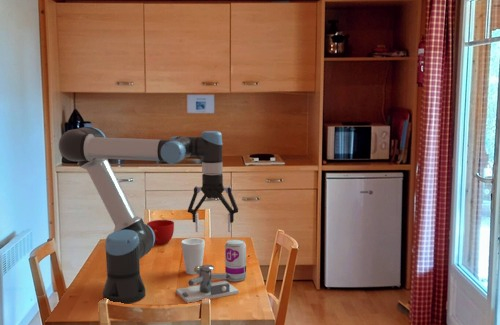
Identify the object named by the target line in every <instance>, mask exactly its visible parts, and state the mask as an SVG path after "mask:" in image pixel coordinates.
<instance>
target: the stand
mask: <svg viewBox="0 0 500 325" xmlns="http://www.w3.org/2000/svg"><path fill="white" fill-rule="evenodd" d="M211 284H212V286H211V292H207V293H203V292H200V286H199V284H197V285H192V286H187V287H181V288H175V294H177V295H178V296H179V297H180V298H181V299H183V300H182V301H184V302H185V301H186V302H187V303H186V302H185V303H186V304H189V303H188V302H192V303H195V302H194V301H198V302H200V301H199V300H202V299H205V298H211V299H210V300H213V299H217V297H218V298H222V297H228V296H232V295H238V294H239V293H240V291H239V289H237V288H236V287H235V286H233V284H231V283H229V282H228V280H226V279H223V280H221V281H219V280H218V281H214V282H211ZM212 298H213V299H212Z"/></svg>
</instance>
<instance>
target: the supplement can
mask: <svg viewBox="0 0 500 325" xmlns="http://www.w3.org/2000/svg"><path fill="white" fill-rule="evenodd" d="M224 259H225V260H224V262H225V263H224V265H225V266H224V268H225V272H224V273H228V274H230V278H229V279H226V281H229V282H242V281H244V280H245V279H246V278H247V244H246V243H245V240H243V239H235V238H233V239H229V240H227V241H226V243H225V245H224Z"/></svg>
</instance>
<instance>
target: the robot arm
mask: <svg viewBox="0 0 500 325" xmlns="http://www.w3.org/2000/svg"><path fill="white" fill-rule="evenodd" d="M223 145H224V143H223V135H222V133H221V131H217V130H205V131H202V132H201V135H200V136H181V135H178V136H171V137H170V138H169V139H156V138H155V139H154V138H153V139H150V138H149V139H148V138H131V137H130V138H127V137H125V138H123V137H106V135H105V133H104V132H103V131H102V130H101V129H99V128H96V127H94V126H83V127H79V128H75V129H70V130H67V131H65V132H64V133H63V134H62V135H61V136H60V138H59V140H58V150H59V152H60V154H61V155H62V157H63V158H65V159H66V160H68V161H71V162H77V163H78V164H79V166H80V168H81V169H84V170H86V172H87V174H88V175H89V177H90V179H91V180H92V182H93V185H94V187H95V188H96V191H97V193H98V196H100V199H101V200H102V203H103V204H104V207H105V209H106V210H107V212H108V214H109V217H110V218H111V221H112V222H113V224H114V229H113V232H111V233H110V234H108V235H107V236H106V238H105V246H104V248H105V261H106V262H105V263H106V280H105V283H104V288H103V291H102V299H103V298H107V299H109V300H110V301H113V302H121V303H127V304H131V303H135V302H138V301H141V300H142V299H144V298H145V297H146V287H145V284H144V282H143V279H142V276H141V271H140V260H141V259H142V258H143V257H144V256H145V255H147V254H149V252H151V250H152V248H153V247H154V245H155V244H154V242H155V235H154V232H153V230H152V228H151V227H150V226H148V225H147V223H145V221H144V219H143V218H142V217H141V216H139V215H136V213H135V211H134V210H133V208H132V207H133V206H132V205H131V203H130V201H129V199H128V197H127V196H126V193H125V191H124V190H123V188H122V186H121V184H120V181H119V180H118V177H117V175H116V174H115V172H114V170H113V168H112V165H111V163H110V162H109V160H125V161H126V160H131V161H153V162H154V161H155V162H156V161H157V162H166V163H168V164H178V163H179V162H181V161H182V160H185V159H186V158H201V172H202V176H201V177H202V178H201V183H202V185H201V186H199V187H198V186H197V185H195V186H194V188H193V195H192V197H191V200H190V203H189V205H188V208H187V212H188V213H190V214H191V215H192V223H195V232H196V233H198V232H199V230H200V229H199V225H200V223H199V218H200V217H199V212H197V211H198V210H199V209H200V208H201V206H202V205H203V204H204V202H205V200H206V199H209V200H210V199H216V200H217V199H219V200H220V202H221V203H222V204H223V206H224V207H225V210H227V211H228V214H227V231H228V233H231V230H232V226H231V225H232V223H234V220H235V219H234V218H235V216H234V214H238V212H239V208H238V205H237V202H236V200H235V198H234V195H233V193H232V187H231V186H224V179H223V178H224V177H223V172H224V171H223V170H224V169H223ZM200 191H201V192H202V193H203V194H204V195H203V196H202V197H201V199H200V200H199V202H198V203H197V205H196V206H195V208H194V204H195V201H196V199H197V196H198V195H199V193H200ZM224 191H225V193H226V194H227V195H228V198H229V201H230V203H231V206H232V207H231V206H230V204H229V203H228V201H227V200H226V198H225V197H224V195H223V192H224ZM193 208H194V209H193Z"/></svg>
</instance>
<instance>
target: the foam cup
mask: <svg viewBox="0 0 500 325" xmlns="http://www.w3.org/2000/svg"><path fill="white" fill-rule="evenodd" d="M180 242H181V249H182V250H181V251H182V257H183V262H184V269H185V274H187V275H191V276H195V275H198V274H197V273H196V272H195V271H194V268H195V267H196V266H198V267H200V266H202V265H203V261H204V254H205V248H206V242H205V239H203V238H197V237H189V238H185V239H182V240H181V241H180Z"/></svg>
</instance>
